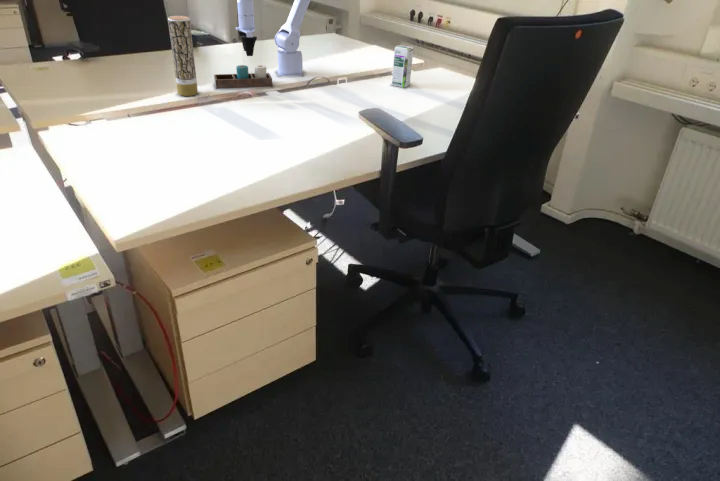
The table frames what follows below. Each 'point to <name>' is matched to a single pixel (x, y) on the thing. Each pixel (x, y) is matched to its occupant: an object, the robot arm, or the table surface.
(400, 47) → the syrup box
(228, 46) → the table surface
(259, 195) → the table surface
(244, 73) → the paper roll
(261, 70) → the roll
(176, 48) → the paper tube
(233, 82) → the rack
